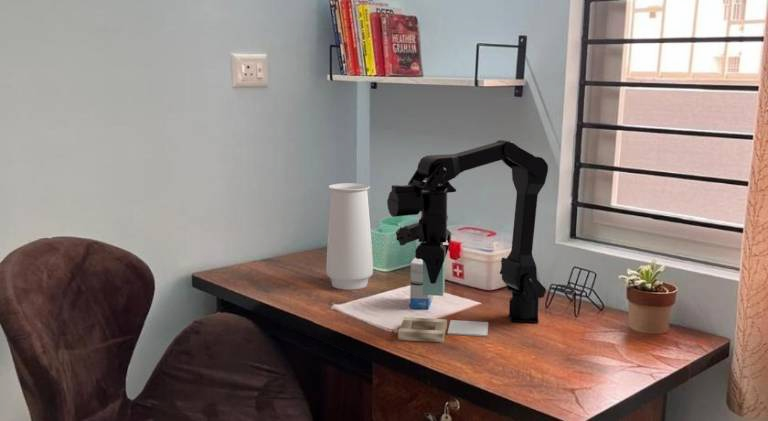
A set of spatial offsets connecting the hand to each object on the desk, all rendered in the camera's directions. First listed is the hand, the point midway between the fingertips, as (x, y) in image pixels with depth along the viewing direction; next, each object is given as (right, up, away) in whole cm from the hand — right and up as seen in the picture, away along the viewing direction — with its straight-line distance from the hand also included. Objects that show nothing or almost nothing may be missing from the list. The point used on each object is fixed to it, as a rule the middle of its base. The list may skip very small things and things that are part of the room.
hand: (434, 280), depth 171 cm
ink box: (-2, -9, +23) cm, 25 cm away
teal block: (0, -3, +1) cm, 3 cm away
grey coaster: (+8, -12, +5) cm, 15 cm away
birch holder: (-2, -12, +2) cm, 13 cm away
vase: (-21, -5, +41) cm, 46 cm away
